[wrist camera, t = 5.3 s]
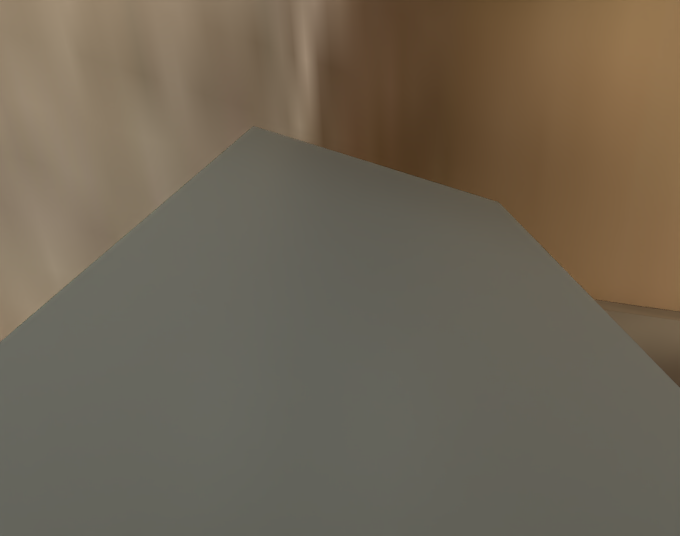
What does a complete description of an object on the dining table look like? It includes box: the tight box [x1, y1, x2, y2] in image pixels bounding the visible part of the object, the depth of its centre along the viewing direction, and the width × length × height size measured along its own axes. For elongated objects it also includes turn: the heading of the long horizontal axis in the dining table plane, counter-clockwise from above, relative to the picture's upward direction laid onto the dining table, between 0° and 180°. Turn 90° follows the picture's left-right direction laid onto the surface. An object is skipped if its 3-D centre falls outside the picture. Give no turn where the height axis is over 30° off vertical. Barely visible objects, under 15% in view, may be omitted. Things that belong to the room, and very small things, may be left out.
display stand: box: [595, 300, 680, 387], centre depth 34 cm, size 20×18×7 cm
